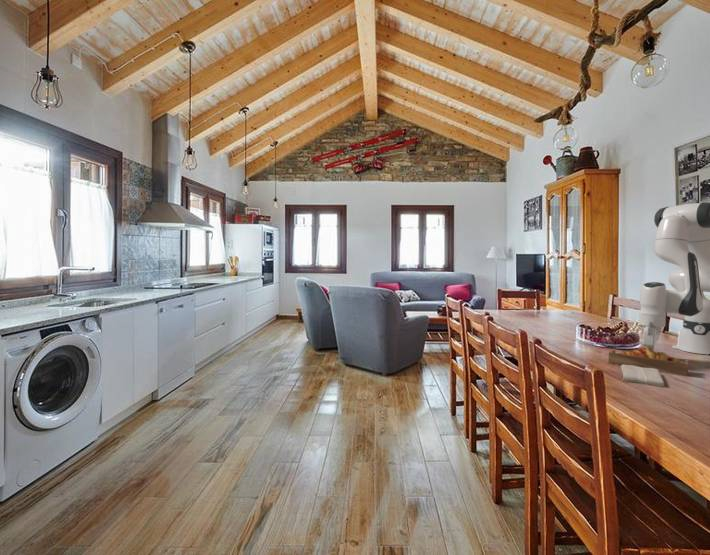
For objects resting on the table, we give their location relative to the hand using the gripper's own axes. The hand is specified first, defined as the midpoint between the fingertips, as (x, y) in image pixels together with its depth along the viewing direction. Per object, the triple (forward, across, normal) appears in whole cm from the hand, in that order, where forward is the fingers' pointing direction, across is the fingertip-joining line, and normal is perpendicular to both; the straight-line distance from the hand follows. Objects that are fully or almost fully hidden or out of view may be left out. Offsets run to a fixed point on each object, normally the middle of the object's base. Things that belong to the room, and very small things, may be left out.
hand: (650, 353), depth 161 cm
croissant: (+3, -6, 0) cm, 7 cm away
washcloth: (+4, -30, 0) cm, 30 cm away
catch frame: (+3, -12, 0) cm, 12 cm away
